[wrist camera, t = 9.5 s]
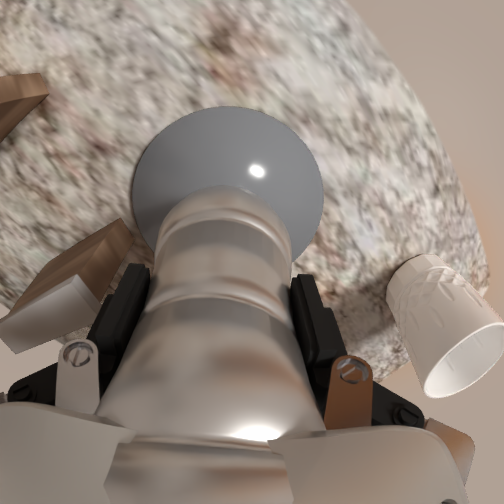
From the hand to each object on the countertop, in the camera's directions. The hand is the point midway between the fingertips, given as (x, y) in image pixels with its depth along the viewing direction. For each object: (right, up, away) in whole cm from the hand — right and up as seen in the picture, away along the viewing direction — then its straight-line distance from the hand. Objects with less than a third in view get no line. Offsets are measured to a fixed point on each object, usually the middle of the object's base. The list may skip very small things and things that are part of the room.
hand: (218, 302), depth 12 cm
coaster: (0, +5, +9) cm, 11 cm away
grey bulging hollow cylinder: (0, +3, +6) cm, 7 cm away
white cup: (+16, -1, +14) cm, 21 cm away
